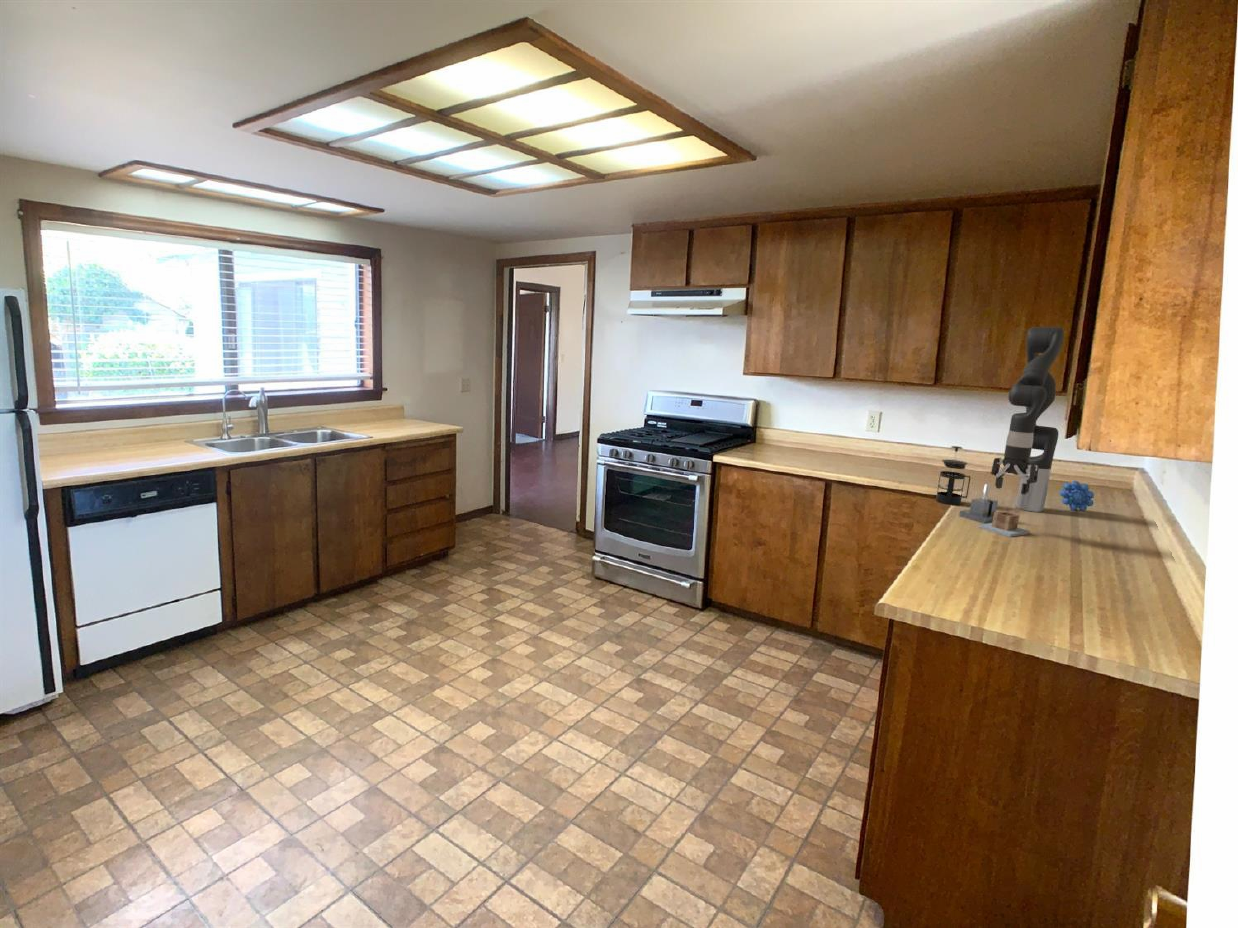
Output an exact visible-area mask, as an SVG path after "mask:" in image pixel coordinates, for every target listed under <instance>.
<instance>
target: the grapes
mask: <svg viewBox="0 0 1238 928" xmlns="http://www.w3.org/2000/svg"><path fill="white" fill-rule="evenodd" d="M1062 488H1063V489H1060V490H1059V495H1060V496H1061V497H1062V499H1061V501H1062V502H1061V503H1062V504H1063V505H1066V506H1069V508H1070V510H1072V511H1077V510H1080V511H1081V512H1085V511H1087V509H1088V507H1092V506H1094V503H1095V502H1094V501H1093V499H1094V497H1095V493H1094V492H1093V491H1092V490H1089V489H1090V487H1089V485H1088V484H1087V483H1080V482H1079V481H1078V480H1073V481H1071V483H1069V482H1065V483H1063V485H1062Z"/></svg>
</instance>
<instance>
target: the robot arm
mask: <svg viewBox="0 0 1238 928" xmlns="http://www.w3.org/2000/svg"><path fill="white" fill-rule="evenodd" d="M1064 340H1065V332H1064V328H1062V327H1059V326H1034V327H1031V328H1029V329H1028V330H1027V333H1026V338H1025V351H1026V365H1025V367H1024V369H1023V372H1022V374H1021V377H1020V378H1019V380H1018V381H1016V382H1015V384H1014V385H1012V387H1011V388H1010V389H1009V391H1008V392H1009V393H1008V396H1007V397H1008V402H1009V404H1010V405H1013V406H1017V407H1024V408H1025V412H1018V413H1017V412H1016V413H1013V414H1012V416H1011V419H1010V425H1009V430H1008V434H1007V436H1006V441H1005V447H1004V454H1003V457H1004V458H1001V457H995V458H994V459H993V462H992V468H991V471H990V474H991V475H993V476H994V477H995V478H996V479H995V484H994V485H995V488H996V489H997V490H998V489H1002V487H1003V482H1004V477H1005V475H1006V474H1012V475H1015V476H1019V479H1020V481H1019V482H1020V483H1019V488H1018V492H1017V493H1018V494H1017V497H1016V498H1017V499H1016V502H1015V503H1016V504H1015V507H1016V508H1017V509H1019V510H1023V511H1029V512H1036V513H1040V512H1043V511H1044V510H1045V505H1046V499H1047V494H1048V489H1049V486H1048V485H1049V481H1050V476H1051V471H1052V466H1053V461H1054V457H1055V452H1056V447H1057V443H1058V439H1059V430H1058V428H1056V427H1051V426H1043V425H1038V424H1037V421H1038V419H1039V418H1040V417H1041V416H1042V414H1044V412H1046V410H1047V409H1048V408H1050V406H1051V405H1052V404H1053V403H1054V401H1055V398H1056V387H1057V386H1056V384H1057V383H1056V380H1055V378H1054V376H1052V374H1051V373H1050V369H1051V367H1052V365H1053V364H1054V362H1055V361H1056V359H1057V357H1058V355H1059V353H1060V352H1061V351H1062V349H1063V345H1064ZM1032 450H1038V451H1043V452H1042V454H1039V455H1037V456H1036V455H1035V456H1031V453H1032ZM1001 465H1002V466H1003V467H1002V468H1001ZM1000 468H1001V469H1000Z"/></svg>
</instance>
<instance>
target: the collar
mask: <svg viewBox="0 0 1238 928" xmlns="http://www.w3.org/2000/svg"><path fill="white" fill-rule="evenodd" d="M1019 519H1020V515H1019V514H1015V513H1013V512H1008V511H1005V510H1002V511H996V512H994V516H993V522H992V527H996V528H999V529H1003V530H1006V531H1010V530H1016V529H1017V527H1018V526H1019Z"/></svg>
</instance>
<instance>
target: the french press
mask: <svg viewBox="0 0 1238 928" xmlns="http://www.w3.org/2000/svg"><path fill="white" fill-rule="evenodd" d="M951 448H952V449H954V452H955V454H954V459H942V460H941V461H942V462H943V465H944V466H945V467H946V468H949V469H952V470H951V471H949V470H947V471H946V470H942V471H940V472H939V479H938V485H937V490H936V491H937V492H936V497H935V499H934V500H935V502H936V503H939V504H942V505H946V506H961V505H962V498H963V499H967V498H968V495H969V489H970V482H971V475H966V474H965V473H962V472H955V469H956V470H965V469H966V466H967V465H968V462H966V461H962V460H958V459H956V458H957V453H958V451H959V450H960V449H963V447H961V446H956V445H951ZM941 477H942V478H946V479H948V484H940V481H941ZM966 478H968V481H967V482H968V483H967V489H966V495H963V491H964V484H965V479H966ZM955 480H963V482H962V487H961V486H957V485H955ZM939 488H940V489H942V490H946V491H939ZM955 491H956V492H959V491H961V494H959V493H955Z"/></svg>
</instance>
